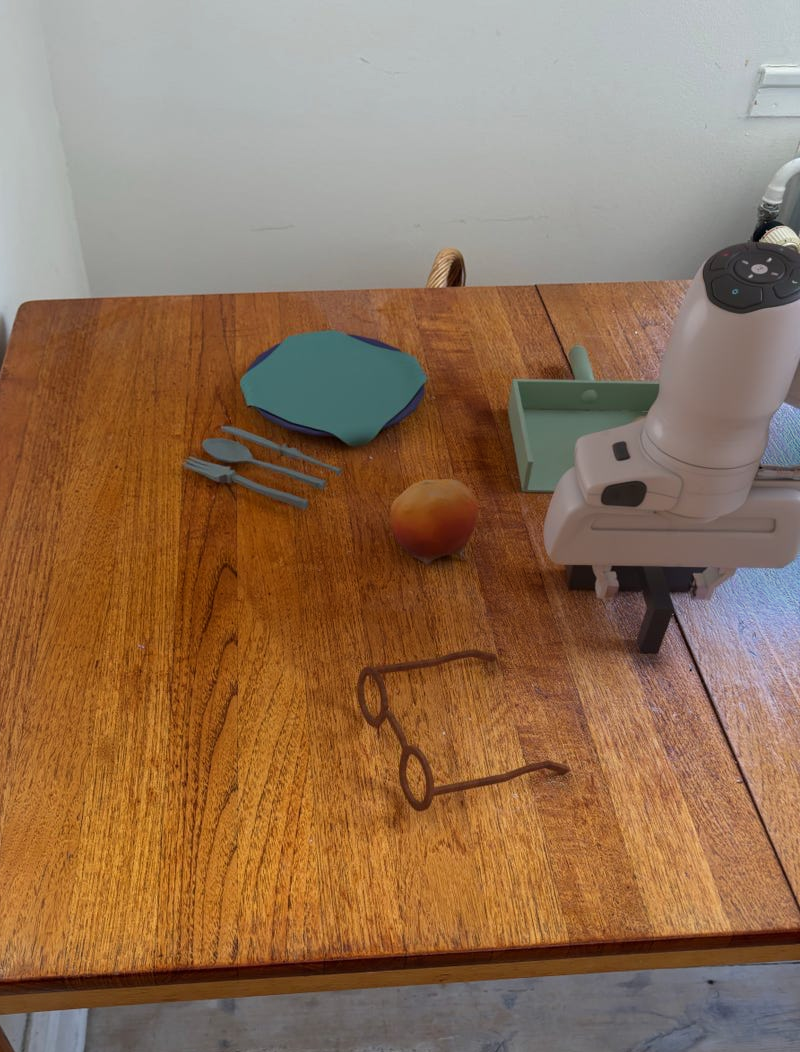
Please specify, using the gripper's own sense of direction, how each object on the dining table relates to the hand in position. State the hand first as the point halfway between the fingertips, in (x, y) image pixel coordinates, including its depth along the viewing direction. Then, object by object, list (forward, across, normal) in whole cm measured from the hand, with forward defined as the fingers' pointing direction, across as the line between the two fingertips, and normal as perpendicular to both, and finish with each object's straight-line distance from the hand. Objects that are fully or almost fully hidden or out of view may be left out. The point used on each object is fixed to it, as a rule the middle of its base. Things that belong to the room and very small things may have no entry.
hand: (651, 594), depth 90 cm
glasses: (+4, +17, +13) cm, 22 cm away
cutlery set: (+4, +30, -30) cm, 43 cm away
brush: (+3, 0, -2) cm, 4 cm away
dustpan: (+3, 0, -30) cm, 30 cm away
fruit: (+4, +18, -10) cm, 21 cm away
